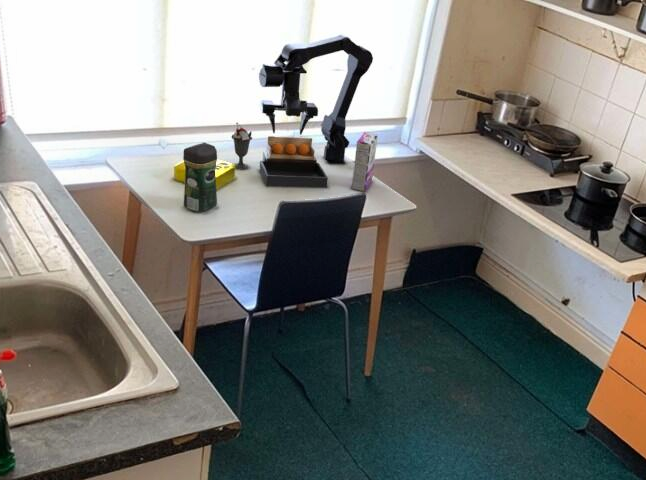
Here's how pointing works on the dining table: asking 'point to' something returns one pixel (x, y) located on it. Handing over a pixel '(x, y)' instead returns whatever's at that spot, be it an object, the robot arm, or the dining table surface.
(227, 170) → the yellow flat box
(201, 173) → the coffee jar
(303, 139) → the wooden box
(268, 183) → the dark grey tray
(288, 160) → the stand
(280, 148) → the orange ball
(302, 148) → the orange ball
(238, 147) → the sundae
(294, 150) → the orange ball
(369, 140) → the candy bar box
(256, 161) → the dining table surface
